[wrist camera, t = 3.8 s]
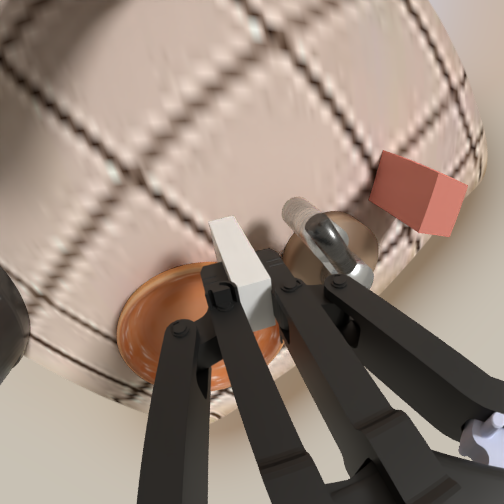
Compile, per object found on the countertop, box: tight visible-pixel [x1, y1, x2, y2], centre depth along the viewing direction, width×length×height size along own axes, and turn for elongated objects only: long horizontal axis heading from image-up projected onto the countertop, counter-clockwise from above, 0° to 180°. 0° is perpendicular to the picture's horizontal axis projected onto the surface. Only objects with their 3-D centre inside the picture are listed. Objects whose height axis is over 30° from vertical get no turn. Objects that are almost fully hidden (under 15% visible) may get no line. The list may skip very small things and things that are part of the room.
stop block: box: [369, 150, 468, 237], centre depth 23 cm, size 5×5×7 cm
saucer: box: [117, 262, 284, 391], centre depth 27 cm, size 16×16×3 cm
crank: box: [282, 197, 374, 289], centre depth 21 cm, size 12×4×6 cm, turn 39°
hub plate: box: [282, 211, 378, 285], centre depth 27 cm, size 9×9×3 cm
